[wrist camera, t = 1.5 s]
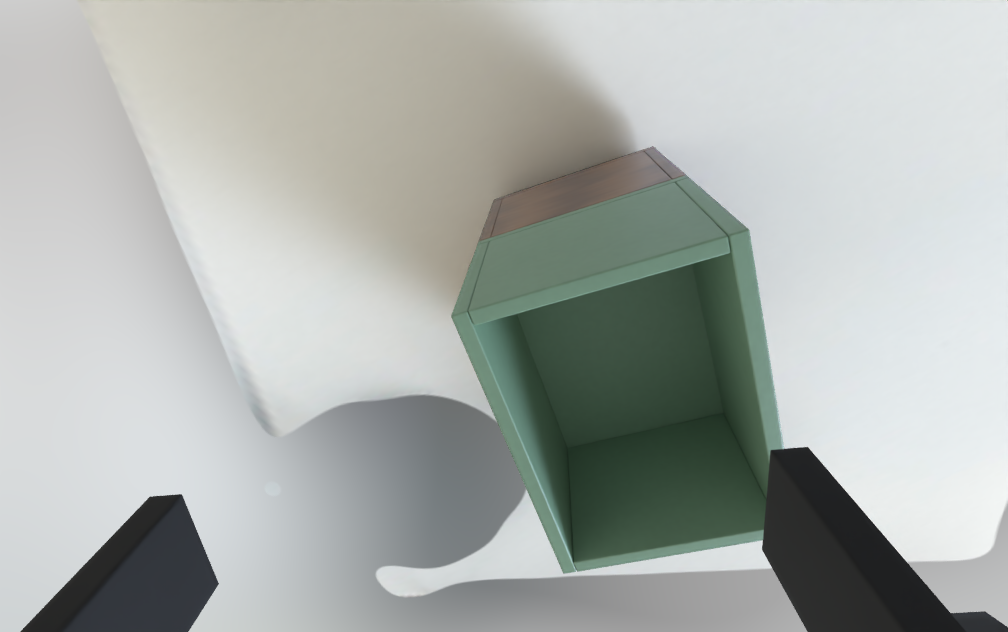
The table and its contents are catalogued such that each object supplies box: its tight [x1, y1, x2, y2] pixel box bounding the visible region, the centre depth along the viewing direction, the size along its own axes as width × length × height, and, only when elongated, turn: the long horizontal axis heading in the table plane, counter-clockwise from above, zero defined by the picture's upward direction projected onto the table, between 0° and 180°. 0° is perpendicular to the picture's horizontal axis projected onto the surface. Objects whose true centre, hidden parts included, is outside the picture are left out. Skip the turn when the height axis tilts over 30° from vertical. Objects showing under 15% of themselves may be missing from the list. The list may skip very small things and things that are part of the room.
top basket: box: [451, 175, 784, 573], centre depth 26 cm, size 11×15×10 cm
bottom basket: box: [479, 146, 686, 241], centre depth 34 cm, size 11×15×10 cm
